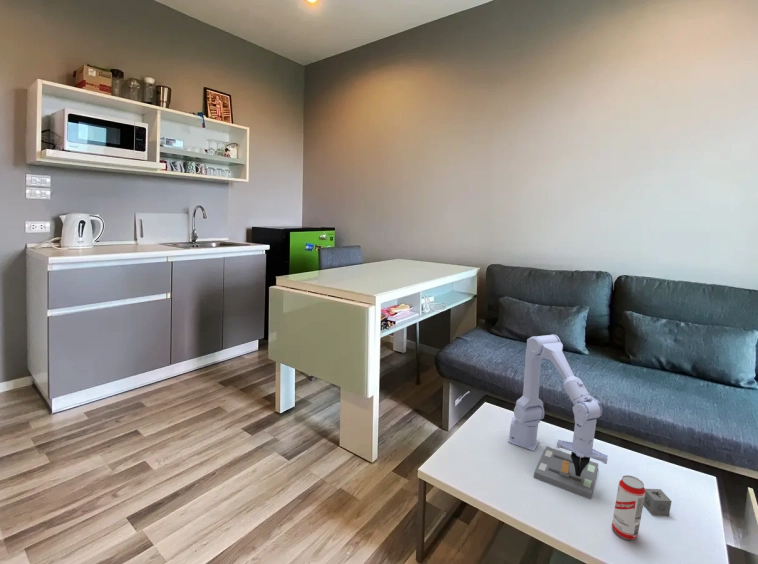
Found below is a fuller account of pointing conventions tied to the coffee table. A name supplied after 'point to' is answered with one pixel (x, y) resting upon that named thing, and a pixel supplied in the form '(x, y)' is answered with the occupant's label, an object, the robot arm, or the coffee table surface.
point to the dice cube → (657, 502)
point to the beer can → (628, 507)
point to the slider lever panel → (550, 474)
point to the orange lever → (565, 469)
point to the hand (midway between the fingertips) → (578, 474)
